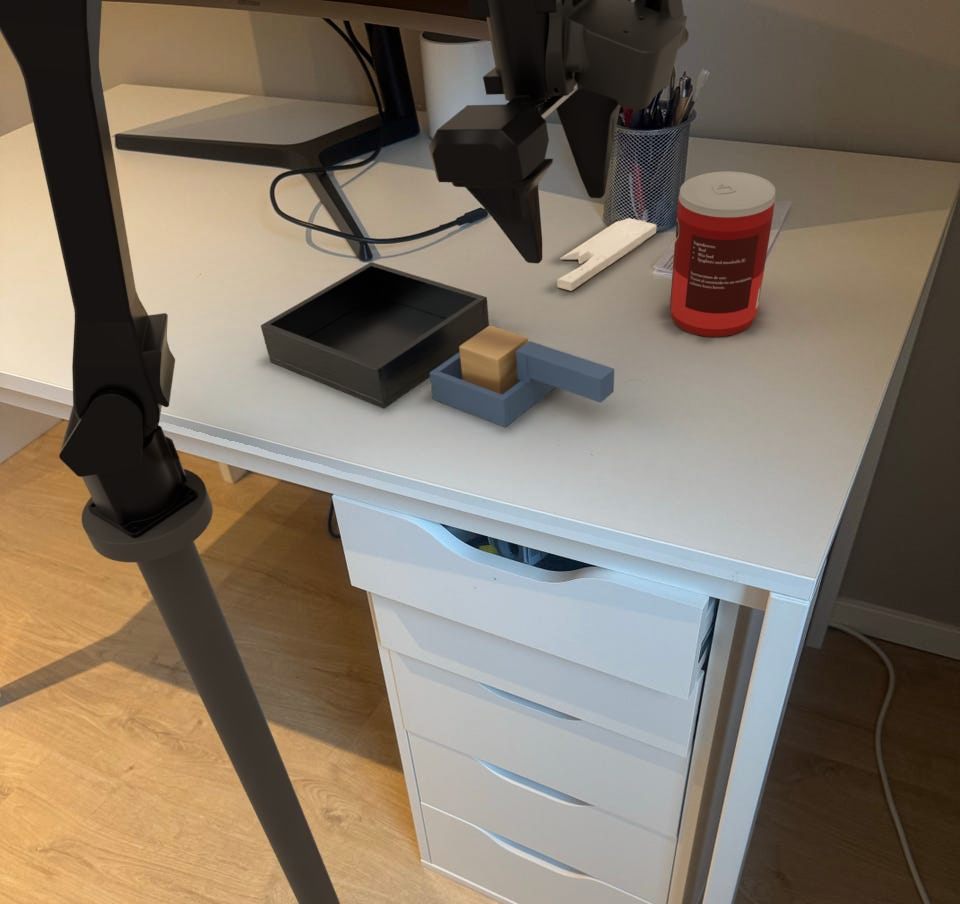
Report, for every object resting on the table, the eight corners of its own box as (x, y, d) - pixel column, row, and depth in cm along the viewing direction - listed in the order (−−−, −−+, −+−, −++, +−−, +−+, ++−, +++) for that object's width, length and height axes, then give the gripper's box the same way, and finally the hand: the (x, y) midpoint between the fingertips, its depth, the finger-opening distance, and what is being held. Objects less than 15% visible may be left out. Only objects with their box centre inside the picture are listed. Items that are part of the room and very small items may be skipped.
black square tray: (384, 408, 75) (377, 369, 72) (270, 362, 82) (260, 325, 79) (489, 334, 82) (487, 296, 79) (377, 297, 89) (371, 261, 86)
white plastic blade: (529, 279, 89) (529, 268, 88) (616, 224, 96) (616, 213, 95) (571, 291, 86) (571, 279, 85) (657, 233, 94) (657, 222, 93)
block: (500, 404, 73) (497, 359, 70) (463, 390, 75) (458, 346, 72) (530, 381, 75) (528, 337, 72) (492, 368, 77) (489, 324, 74)
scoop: (578, 455, 68) (578, 398, 65) (432, 399, 75) (425, 344, 72) (633, 407, 72) (636, 350, 69) (489, 358, 79) (485, 304, 76)
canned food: (719, 288, 85) (734, 163, 77) (775, 322, 80) (798, 192, 72) (651, 311, 83) (659, 185, 75) (704, 347, 78) (719, 217, 70)
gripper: (575, 10, 43) (611, 311, 54) (726, -111, 52) (730, 169, 63) (392, 24, 48) (459, 295, 60) (558, -88, 57) (589, 166, 69)
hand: (566, 228), depth 63 cm, fingers open, 9 cm apart
